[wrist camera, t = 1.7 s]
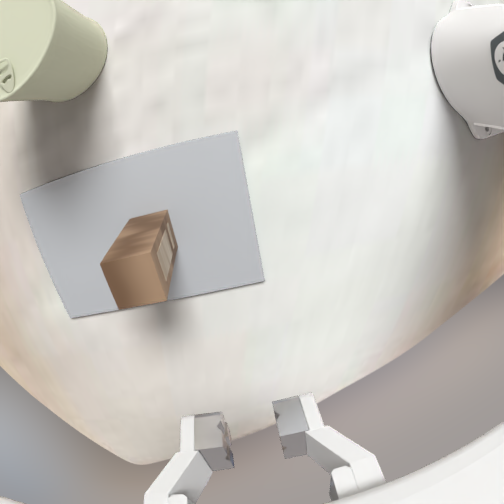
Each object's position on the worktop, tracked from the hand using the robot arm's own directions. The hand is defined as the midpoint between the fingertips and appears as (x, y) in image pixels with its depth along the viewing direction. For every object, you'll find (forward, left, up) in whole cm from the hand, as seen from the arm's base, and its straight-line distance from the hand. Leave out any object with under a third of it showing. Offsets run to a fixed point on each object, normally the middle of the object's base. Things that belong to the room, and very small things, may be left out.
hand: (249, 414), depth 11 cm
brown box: (+7, 0, -23) cm, 24 cm away
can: (+12, -20, -23) cm, 33 cm away
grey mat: (+9, 0, -23) cm, 25 cm away
